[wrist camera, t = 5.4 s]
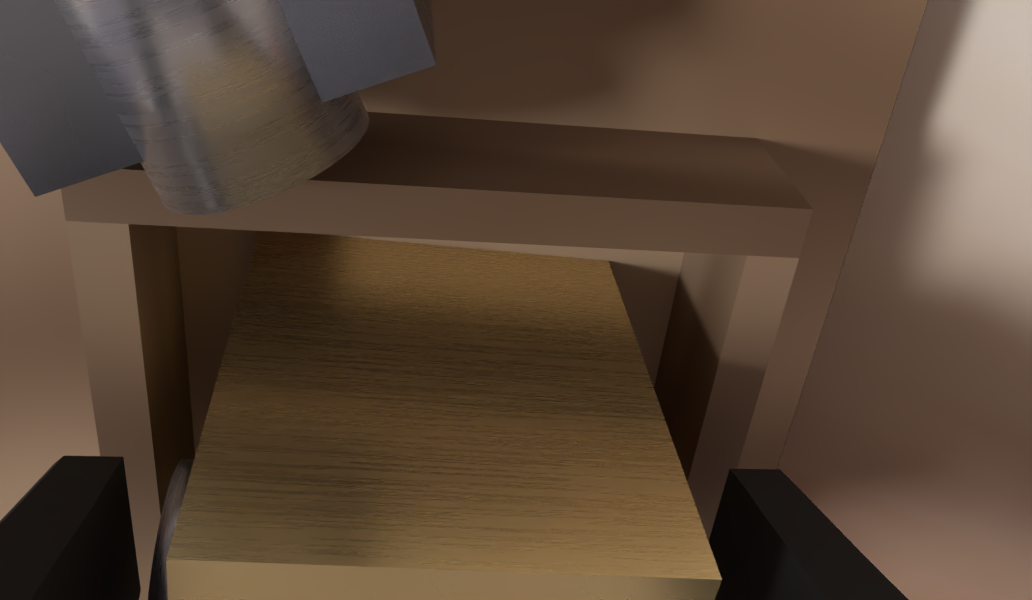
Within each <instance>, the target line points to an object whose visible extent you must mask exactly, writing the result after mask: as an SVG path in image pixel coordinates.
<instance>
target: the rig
mask: <svg viewBox="0 0 1032 600" xmlns="http://www.w3.org/2000/svg"><path fill="white" fill-rule="evenodd" d="M927 2H928V0H431V5H432V18H433V31H434V44H435V57H436V65H435V66H432V67H429V68H426V69H423V70H420V71H416V72H413V73H410V74H407V75H404V76H401V77H398V78H395V79H392V80H389V81H386V82H383V83H380V84H377V85H374V86H371V87H368V88H365V89H362V90H359V91H358V92H359V95H360V97H361V99H362V102H363V104H364V107H365V109H366V112H367V114H368V117H369V126H368V129H367V131H366V133H365V135H364V136H363V137H362V139H361V140H360V141H359V143H358V144H357V145H356V146H355V147H354V148H353V149H352V150H351V151H349V152H348V153H347V154H346V155H345V156H344V157H342V158H341V159H340V160H338V161H337V162H336V163H334V164H333V165H332V166H330V167H329V168H327V169H325V170H324V171H322V172H321V173H319V174H317V175H316V176H314V177H312V178H311V179H309V180H307V181H305V182H303V183H301V184H299V185H297V186H295V187H293V188H291V189H289V190H287V191H284V192H282V193H280V194H277V195H275V196H272V197H270V198H268V199H265V200H262V201H259V202H256V203H253V204H250V205H247V206H244V207H240V208H237V209H232V210H228V211H224V212H218V213H213V214H204V215H184V214H178V213H175V212H172V211H170V210H169V209H167V208H166V207H165V205H164V204H163V202H162V200H161V198H160V197H159V195H158V193H157V191H156V190H155V188H154V186H153V184H152V182H151V181H150V179H149V177H148V175H147V174H146V172H145V170H144V168H143V166H142V165H141V163H137V164H134V165H131V166H128V167H125V168H122V169H119V170H116V171H113V172H110V173H107V174H104V175H101V176H98V177H95V178H91V179H88V180H85V181H82V182H79V183H76V184H73V185H70V186H67V187H64V188H61V189H58V190H55V191H52V192H49V193H46V194H43V195H40V196H37V197H35V196H34V195H33V193H32V191H31V190H30V188H29V187H28V185H27V184H26V182H25V181H24V179H23V177H22V176H21V174H20V173H19V171H18V170H17V168H16V167H15V165H14V163H13V162H12V160H11V159H10V157H9V156H8V154H7V153H6V151H5V149H4V148H3V146H2V145H1V143H0V521H1V519H2V518H3V517H4V516H5V515H6V514H7V513H8V512H9V511H10V510H11V509H12V508H13V507H14V506H15V505H16V504H17V503H18V502H19V500H20V499H21V498H22V497H23V496H24V495H25V494H26V493H27V492H28V491H29V490H30V489H31V488H32V487H33V485H34V484H35V483H36V482H37V481H38V480H39V479H40V478H41V477H42V476H43V475H44V474H45V473H46V472H47V471H48V470H49V468H50V467H51V466H52V465H53V464H54V463H55V462H57V461H58V460H59V459H60V458H62V457H63V456H114V457H123V458H124V465H125V473H126V481H127V488H128V496H129V503H130V511H131V519H132V526H133V534H134V541H135V549H136V557H137V564H138V572H139V579H140V587H141V592H140V597H139V600H148V592H149V584H150V576H151V569H152V562H153V555H154V549H155V543H156V538H157V533H158V527H159V523H160V518H161V513H162V509H163V505H164V501H165V498H166V494H167V490H168V487H169V484H170V481H171V478H172V476H173V473H174V471H175V469H176V467H177V465H178V464H179V462H180V461H181V460H182V459H195V455H196V452H197V448H198V445H199V441H200V437H201V434H202V430H203V427H204V423H205V420H206V416H207V413H208V409H209V405H210V402H211V398H212V395H213V391H214V388H215V384H216V381H217V377H218V374H219V370H220V366H221V363H222V359H223V356H224V352H225V349H226V345H227V342H228V338H229V334H230V331H231V327H232V324H233V320H234V317H235V313H236V310H237V306H238V303H239V299H240V295H241V292H242V288H243V285H244V281H245V278H246V274H247V271H248V267H249V264H250V260H251V256H252V253H253V249H254V246H255V242H256V239H257V235H258V232H259V231H274V232H293V233H308V234H319V235H330V236H341V237H352V238H363V239H374V240H385V241H397V242H408V243H419V244H430V245H441V246H452V247H463V248H474V249H485V250H496V251H507V252H518V253H529V254H541V255H552V256H563V257H574V258H585V259H596V260H607V261H608V262H609V264H610V267H611V270H612V273H613V276H614V278H615V281H616V284H617V287H618V290H619V292H620V295H621V298H622V301H623V304H624V306H625V309H626V312H627V315H628V318H629V320H630V323H631V326H632V329H633V332H634V334H635V337H636V340H637V343H638V346H639V348H640V351H641V354H642V357H643V360H644V362H645V365H646V368H647V371H648V374H649V376H650V379H651V382H652V385H653V388H654V390H655V393H656V396H657V399H658V402H659V404H660V407H661V410H662V413H663V416H664V418H665V421H666V424H667V427H668V430H669V432H670V435H671V438H672V441H673V444H674V446H675V449H676V452H677V455H678V458H679V460H680V463H681V466H682V469H683V472H684V474H685V477H686V480H687V483H688V486H689V488H690V491H691V494H692V497H693V500H694V502H695V505H696V508H697V511H698V514H699V516H700V519H701V522H702V525H703V528H704V530H705V533H706V536H707V539H708V541H709V538H710V534H711V531H712V528H713V524H714V521H715V517H716V514H717V510H718V507H719V503H720V500H721V496H722V493H723V490H724V486H725V483H726V479H727V476H728V472H729V469H777V467H778V464H779V461H780V457H781V454H782V451H783V448H784V445H785V442H786V439H787V436H788V433H789V430H790V426H791V423H792V420H793V417H794V414H795V411H796V408H797V405H798V402H799V399H800V396H801V392H802V389H803V386H804V383H805V380H806V377H807V374H808V371H809V368H810V365H811V361H812V358H813V355H814V352H815V349H816V346H817V343H818V340H819V337H820V334H821V330H822V327H823V324H824V321H825V318H826V315H827V312H828V309H829V306H830V303H831V300H832V296H833V293H834V290H835V287H836V284H837V281H838V278H839V275H840V272H841V269H842V265H843V262H844V259H845V256H846V253H847V250H848V247H849V244H850V241H851V238H852V234H853V231H854V228H855V225H856V222H857V219H858V216H859V213H860V210H861V207H862V203H863V200H864V197H865V194H866V191H867V188H868V185H869V182H870V179H871V176H872V173H873V169H874V166H875V163H876V160H877V157H878V154H879V151H880V148H881V145H882V142H883V138H884V135H885V132H886V129H887V126H888V123H889V120H890V117H891V114H892V111H893V107H894V104H895V101H896V98H897V95H898V92H899V89H900V86H901V83H902V80H903V76H904V73H905V70H906V67H907V64H908V61H909V58H910V55H911V52H912V49H913V46H914V42H915V39H916V36H917V33H918V30H919V27H920V24H921V21H922V18H923V15H924V11H925V8H926V5H927Z"/></svg>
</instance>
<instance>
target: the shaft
mask: <svg viewBox="0 0 1032 600" xmlns="http://www.w3.org/2000/svg"><path fill="white" fill-rule="evenodd" d="M435 65H436V57H435V44H434V31H433V18H432V5H431V0H0V143H1V145H2V146H3V148H4V149H5V151H6V153H7V154H8V156H9V157H10V159H11V160H12V162H13V163H14V165H15V167H16V168H17V170H18V171H19V173H20V174H21V176H22V177H23V179H24V181H25V182H26V184H27V185H28V187H29V188H30V190H31V191H32V193H33V195H34V196H35V197H37V196H40V195H43V194H46V193H49V192H52V191H55V190H58V189H61V188H64V187H67V186H70V185H73V184H76V183H79V182H82V181H85V180H88V179H91V178H95V177H98V176H101V175H104V174H107V173H110V172H113V171H116V170H119V169H122V168H125V167H128V166H131V165H134V164H137V163H141V165H142V166H143V168H144V170H145V172H146V174H147V175H148V177H149V179H150V181H151V182H152V184H153V186H154V188H155V190H156V191H157V193H158V195H159V197H160V198H161V200H162V202H163V204H164V205H165V207H166V208H167V209H169V210H170V211H172V212H175V213H178V214H184V215H204V214H213V213H218V212H224V211H228V210H232V209H237V208H240V207H244V206H247V205H250V204H253V203H256V202H259V201H262V200H265V199H268V198H270V197H272V196H275V195H277V194H280V193H282V192H284V191H287V190H289V189H291V188H293V187H295V186H297V185H299V184H301V183H303V182H305V181H307V180H309V179H311V178H312V177H314V176H316V175H317V174H319V173H321V172H322V171H324V170H325V169H327V168H329V167H330V166H332V165H333V164H334V163H336V162H337V161H338V160H340V159H341V158H342V157H344V156H345V155H346V154H347V153H348V152H349V151H351V150H352V149H353V148H354V147H355V146H356V145H357V144H358V143H359V141H360V140H361V139H362V137H363V136H364V135H365V133H366V131H367V129H368V126H369V117H368V114H367V112H366V109H365V107H364V104H363V102H362V99H361V97H360V95H359V92H358V91H359V90H362V89H365V88H368V87H371V86H374V85H377V84H380V83H383V82H386V81H389V80H392V79H395V78H398V77H401V76H404V75H407V74H410V73H413V72H416V71H420V70H423V69H426V68H429V67H432V66H435Z"/></svg>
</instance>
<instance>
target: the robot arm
mask: <svg viewBox="0 0 1032 600" xmlns="http://www.w3.org/2000/svg"><path fill="white" fill-rule="evenodd" d="M708 542H709V544H710V547H711V550H712V553H713V556H714V558H715V561H716V564H717V567H718V570H719V572H720V575H721V578H722V582H721V584H720V587H719V590H718V592H717V595H716V598H715V600H908V599H907V598H906V597H905V596H904V595H903V594H902V593H901V592H900V591H899V590H898V589H897V588H896V587H895V586H894V585H893V584H892V583H891V582H890V581H889V580H888V579H887V578H886V577H885V576H884V575H883V574H882V573H881V572H880V571H879V570H878V569H877V568H876V567H875V566H874V565H873V564H872V563H871V562H870V561H869V560H868V559H867V558H866V557H865V556H864V555H863V554H862V553H861V552H860V551H859V550H858V549H857V548H856V547H855V546H854V545H853V544H852V543H851V542H850V541H849V540H848V539H847V538H846V537H845V536H844V534H843V533H842V532H841V531H840V530H839V529H838V528H837V527H836V526H835V525H834V524H833V523H832V522H831V521H830V520H829V519H828V518H827V517H826V516H825V515H824V514H823V513H822V512H821V511H820V510H819V509H818V508H817V507H816V506H815V505H814V504H813V503H812V501H811V500H810V499H809V498H808V497H807V496H806V495H805V494H804V493H803V492H802V491H801V490H800V489H799V488H798V487H797V486H796V485H795V484H794V483H793V482H792V481H791V480H790V479H789V478H788V477H787V476H786V475H785V474H784V473H783V472H782V471H781V470H779V469H729V472H728V476H727V479H726V483H725V486H724V490H723V493H722V496H721V500H720V503H719V507H718V510H717V514H716V517H715V521H714V524H713V528H712V531H711V534H710V538H709V541H708ZM140 592H141V587H140V579H139V572H138V564H137V557H136V549H135V541H134V534H133V526H132V519H131V511H130V503H129V496H128V488H127V481H126V473H125V465H124V458H123V457H114V456H63V457H62V458H60V459H59V460H58V461H57V462H55V463H54V464H53V465H52V466H51V467H50V468H49V470H48V471H47V472H46V473H45V474H44V475H43V476H42V477H41V478H40V479H39V480H38V481H37V482H36V483H35V484H34V485H33V487H32V488H31V489H30V490H29V491H28V492H27V493H26V494H25V495H24V496H23V497H22V498H21V499H20V500H19V502H18V503H17V504H16V505H15V506H14V507H13V508H12V509H11V510H10V511H9V512H8V513H7V514H6V515H5V516H4V517H3V518H2V519H1V521H0V600H139V597H140Z"/></svg>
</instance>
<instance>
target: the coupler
mask: <svg viewBox="0 0 1032 600" xmlns="http://www.w3.org/2000/svg"><path fill="white" fill-rule="evenodd" d="M721 582H722V578H721V575H720V572H719V570H718V567H717V564H716V561H715V558H714V556H713V553H712V550H711V547H710V544H709V542H708V539H707V536H706V533H705V530H704V528H703V525H702V522H701V519H700V516H699V514H698V511H697V508H696V505H695V502H694V500H693V497H692V494H691V491H690V488H689V486H688V483H687V480H686V477H685V474H684V472H683V469H682V466H681V463H680V460H679V458H678V455H677V452H676V449H675V446H674V444H673V441H672V438H671V435H670V432H669V430H668V427H667V424H666V421H665V418H664V416H663V413H662V410H661V407H660V404H659V402H658V399H657V396H656V393H655V390H654V388H653V385H652V382H651V379H650V376H649V374H648V371H647V368H646V365H645V362H644V360H643V357H642V354H641V351H640V348H639V346H638V343H637V340H636V337H635V334H634V332H633V329H632V326H631V323H630V320H629V318H628V315H627V312H626V309H625V306H624V304H623V301H622V298H621V295H620V292H619V290H618V287H617V284H616V281H615V278H614V276H613V273H612V270H611V267H610V264H609V262H608V261H607V260H596V259H585V258H574V257H563V256H552V255H541V254H529V253H518V252H507V251H496V250H485V249H474V248H463V247H452V246H441V245H430V244H419V243H408V242H397V241H385V240H374V239H363V238H352V237H341V236H330V235H319V234H308V233H293V232H274V231H259V232H258V235H257V239H256V242H255V246H254V249H253V253H252V256H251V260H250V264H249V267H248V271H247V274H246V278H245V281H244V285H243V288H242V292H241V295H240V299H239V303H238V306H237V310H236V313H235V317H234V320H233V324H232V327H231V331H230V334H229V338H228V342H227V345H226V349H225V352H224V356H223V359H222V363H221V366H220V370H219V374H218V377H217V381H216V384H215V388H214V391H213V395H212V398H211V402H210V405H209V409H208V413H207V416H206V420H205V423H204V427H203V430H202V434H201V437H200V441H199V445H198V448H197V452H196V455H195V459H182V460H181V461H180V462H179V464H178V465H177V467H176V469H175V471H174V473H173V476H172V478H171V481H170V484H169V487H168V490H167V494H166V498H165V501H164V505H163V509H162V513H161V518H160V523H159V527H158V533H157V538H156V543H155V549H154V555H153V562H152V569H151V576H150V584H149V592H148V600H715V598H716V595H717V592H718V590H719V587H720V584H721Z"/></svg>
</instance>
